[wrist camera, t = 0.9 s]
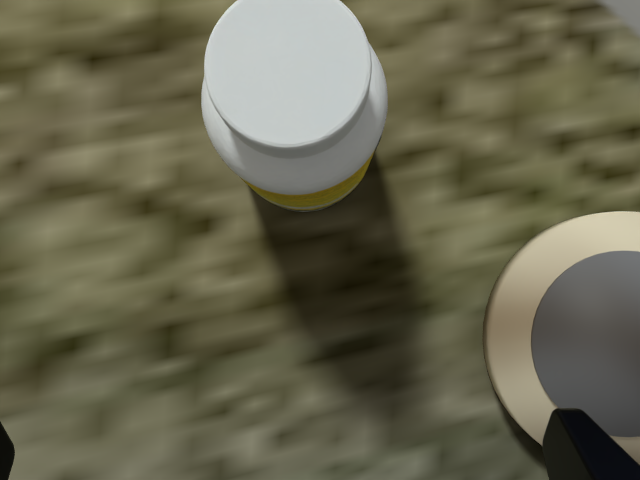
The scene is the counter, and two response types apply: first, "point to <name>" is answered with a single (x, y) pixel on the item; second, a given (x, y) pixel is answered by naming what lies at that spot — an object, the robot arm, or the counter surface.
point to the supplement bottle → (294, 99)
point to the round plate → (570, 327)
